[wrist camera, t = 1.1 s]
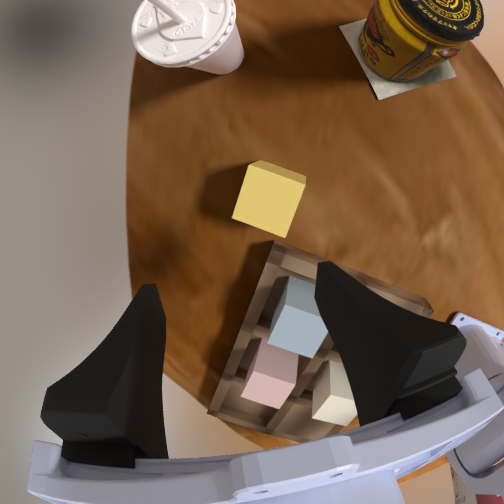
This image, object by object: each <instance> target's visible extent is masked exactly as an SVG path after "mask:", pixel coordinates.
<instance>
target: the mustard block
mask: <svg viewBox="0 0 504 504" xmlns="http://www.w3.org/2000/svg"><path fill="white" fill-rule="evenodd" d="M305 184H306V176H303V175H301V174H298V173H295V172H293V171H290V170H287V169H284V168H282V167H279V166H276V165H273V164H270V163H268V162H265V161H262V160H259V161H257V162H254V163H252V164H249V166H248V169H247V172H246V175H245V178H244V182H243V185H242V188H241V191H240V194H239V197H238V200H237V203H236V206H235V210H234V213H233V216H232V218H233V219H236V220H238V221H241V222H244V223H246V224H249V225H252V226H255V227H257V228H260V229H263V230H265V231H268V232H271V233H273V234H276V235H279V236H281V237H284V238H285V237H286V235H287V232H288V229H289V227H290V224H291V222H292V219H293V216H294V214H295V211H296V209H297V206H298V203H299V201H300V198H301V195H302V193H303V190H304V187H305Z"/></svg>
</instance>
